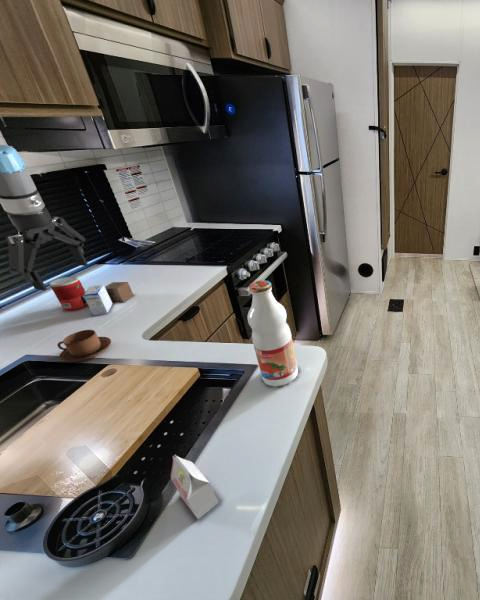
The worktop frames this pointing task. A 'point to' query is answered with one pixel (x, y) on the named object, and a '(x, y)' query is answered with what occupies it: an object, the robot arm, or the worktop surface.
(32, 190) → the robot arm
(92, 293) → the medicine box
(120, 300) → the walnut block
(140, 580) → the worktop surface
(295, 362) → the fruit juice
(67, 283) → the canned food
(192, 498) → the white carton box
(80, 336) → the cup and saucer
